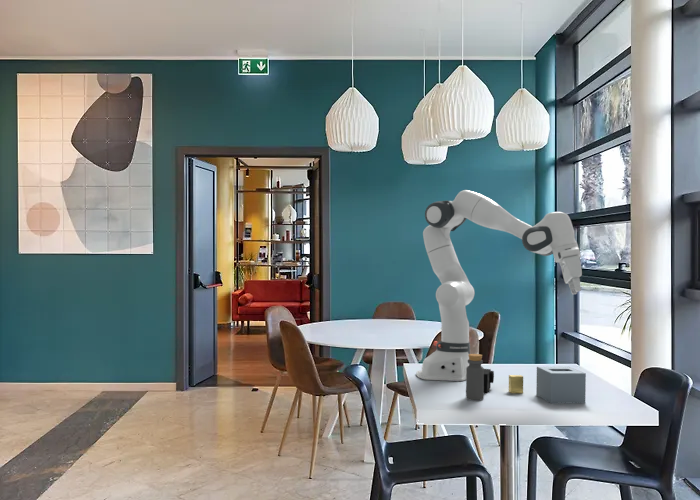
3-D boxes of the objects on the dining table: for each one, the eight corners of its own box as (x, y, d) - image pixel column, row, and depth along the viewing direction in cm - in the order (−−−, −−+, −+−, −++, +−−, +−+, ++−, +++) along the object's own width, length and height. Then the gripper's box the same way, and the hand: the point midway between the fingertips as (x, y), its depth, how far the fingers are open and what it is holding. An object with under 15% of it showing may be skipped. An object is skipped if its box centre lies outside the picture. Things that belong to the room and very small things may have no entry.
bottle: (480, 401, 196) (480, 356, 197) (463, 399, 199) (464, 355, 200) (485, 398, 201) (486, 354, 202) (469, 395, 204) (470, 352, 205)
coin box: (550, 403, 196) (551, 373, 196) (536, 394, 207) (536, 366, 208) (585, 403, 197) (585, 373, 197) (568, 394, 209) (569, 366, 209)
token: (510, 393, 210) (511, 376, 210) (508, 391, 212) (508, 375, 212) (523, 393, 210) (523, 376, 210) (520, 391, 212) (520, 375, 212)
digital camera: (490, 393, 208) (490, 374, 208) (475, 392, 210) (475, 373, 210) (493, 387, 218) (494, 369, 218) (479, 386, 220) (479, 368, 220)
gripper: (554, 261, 220) (564, 297, 217) (560, 252, 200) (571, 291, 197) (572, 257, 218) (581, 293, 215) (579, 248, 199) (590, 287, 196)
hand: (576, 292), depth 206 cm, fingers open, 8 cm apart
